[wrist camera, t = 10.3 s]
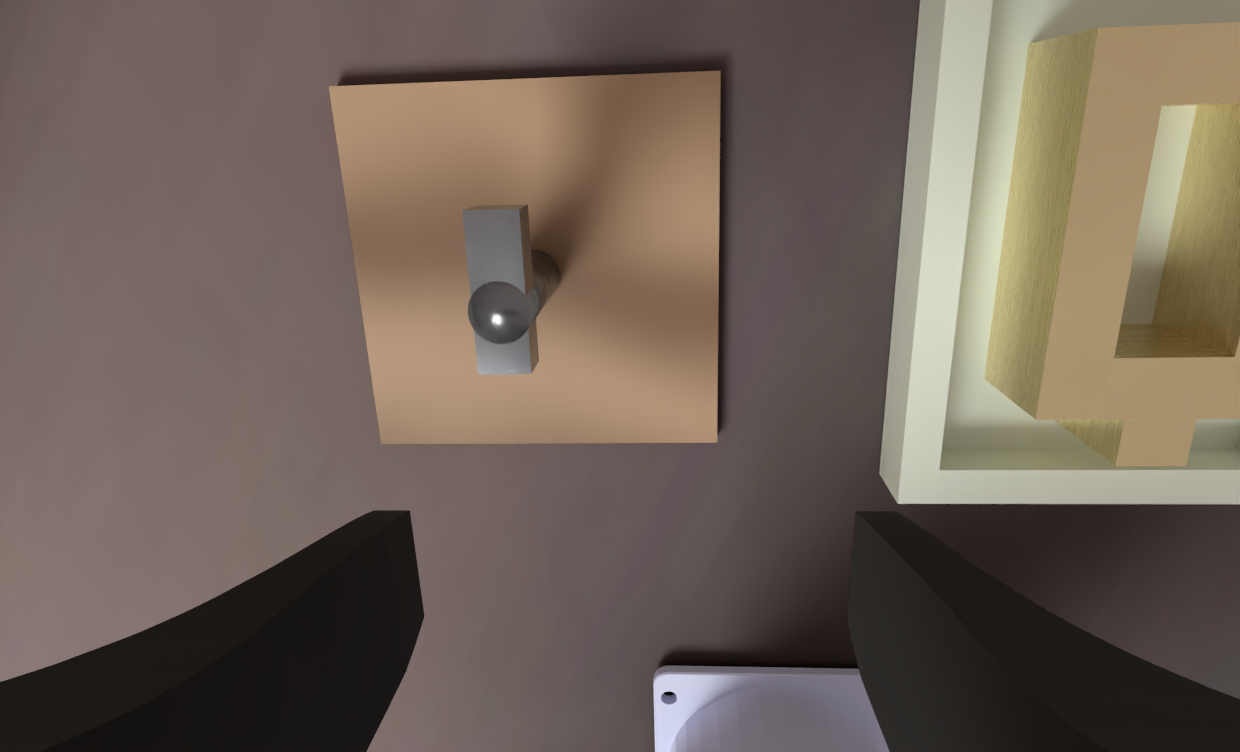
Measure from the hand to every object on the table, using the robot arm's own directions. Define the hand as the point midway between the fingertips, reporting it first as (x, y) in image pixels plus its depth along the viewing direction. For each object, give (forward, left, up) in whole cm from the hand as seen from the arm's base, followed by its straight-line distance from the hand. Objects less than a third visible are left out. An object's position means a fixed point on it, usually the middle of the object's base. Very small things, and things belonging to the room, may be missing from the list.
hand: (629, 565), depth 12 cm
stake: (+3, +3, -10) cm, 11 cm away
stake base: (+3, +3, -10) cm, 11 cm away
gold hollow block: (+4, -12, -9) cm, 16 cm away
